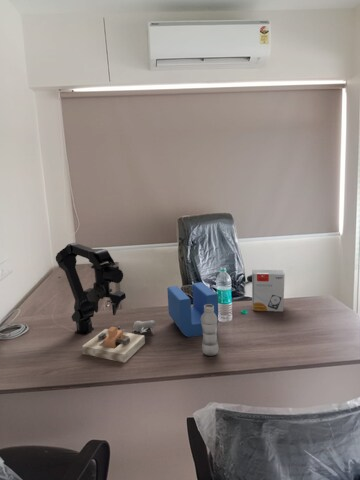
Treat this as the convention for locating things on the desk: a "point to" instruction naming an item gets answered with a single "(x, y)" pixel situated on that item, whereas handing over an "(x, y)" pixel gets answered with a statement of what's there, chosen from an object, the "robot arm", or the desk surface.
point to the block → (182, 310)
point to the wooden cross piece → (113, 337)
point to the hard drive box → (267, 290)
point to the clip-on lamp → (142, 328)
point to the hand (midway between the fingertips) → (105, 313)
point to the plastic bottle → (209, 331)
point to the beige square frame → (120, 353)
